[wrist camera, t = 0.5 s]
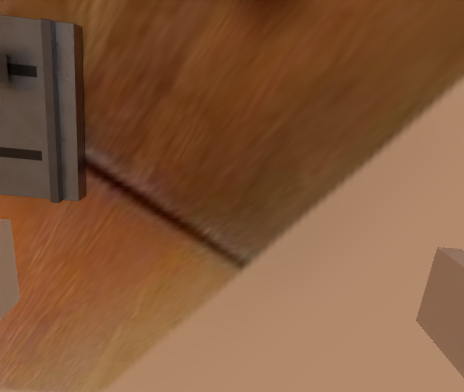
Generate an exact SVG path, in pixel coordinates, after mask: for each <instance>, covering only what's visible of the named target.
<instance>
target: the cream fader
mask: <svg viewBox="0 0 464 392" xmlns="http://www.w3.org/2000/svg"><path fill="white" fill-rule="evenodd" d="M0 82H8V71H7V59H6V55H3V54H0Z"/></svg>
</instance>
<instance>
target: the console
mask: <svg viewBox="0 0 464 392" xmlns="http://www.w3.org/2000/svg"><path fill="white" fill-rule="evenodd" d="M0 54H3V55H6V59H7V71H8V82H0V194H3V195H14V196H25V197H37V198H48V199H51V202H54V203H59V202H61V201H62V200H71V201H80V200H81V199H82V198H83V197H85V196H86V183H85V140H84V97H83V54H82V27H80V26H77V25H75V24H71V23H62V22H55V21H52V20H49V19H41V20H37V19H28V18H20V17H12V16H3V15H0Z"/></svg>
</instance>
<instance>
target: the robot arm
mask: <svg viewBox="0 0 464 392" xmlns="http://www.w3.org/2000/svg"><path fill="white" fill-rule="evenodd" d="M19 300H20V296H19V287H18V279H17V270H16V262H15V253H14V245H13V236H12V228H11V220H10V219H0V320H1V319H2V318H3V317H4V316H5V315H6V314H7V313H8V312H9V311H10V310H11V308H12V307H13V306H14V305H15V304H16V303H17V302H18V301H19ZM416 321H417V322H418V323H419V325H420V326H421V327H422V328H423V329H424V331H425V332H426V333H427V334H428V335H429V337H430V338H431V339H432V340H433V341H434V343H435V344H436V345H437V346H438V347H439V349H440V350H441V351H442V352H443V353H444V355H445V356H446V357H447V358H448V359H449V361H450V362H451V363H452V364H453V365H454V367H455V368H456V369H457V370H458V371H459V373H460V374H461V375H462V376H463V377H464V251H463V250H462V249H454V248H440V247H438V248H437V250H436V254H435V257H434V261H433V264H432V268H431V271H430V275H429V278H428V281H427V286H426V288H425V292H424V295H423V299H422V302H421V306H420V309H419V313H418V316H417V319H416Z"/></svg>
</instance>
